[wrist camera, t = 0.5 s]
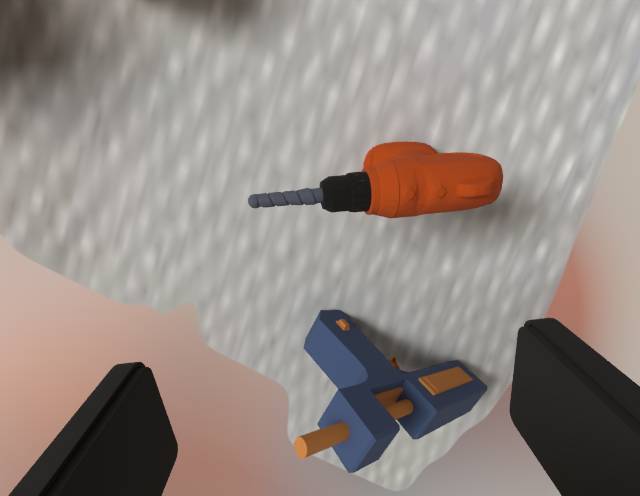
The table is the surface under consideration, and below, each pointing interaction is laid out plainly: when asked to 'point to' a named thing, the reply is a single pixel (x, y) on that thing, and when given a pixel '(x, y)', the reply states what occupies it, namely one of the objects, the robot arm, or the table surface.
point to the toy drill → (402, 183)
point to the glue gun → (378, 394)
